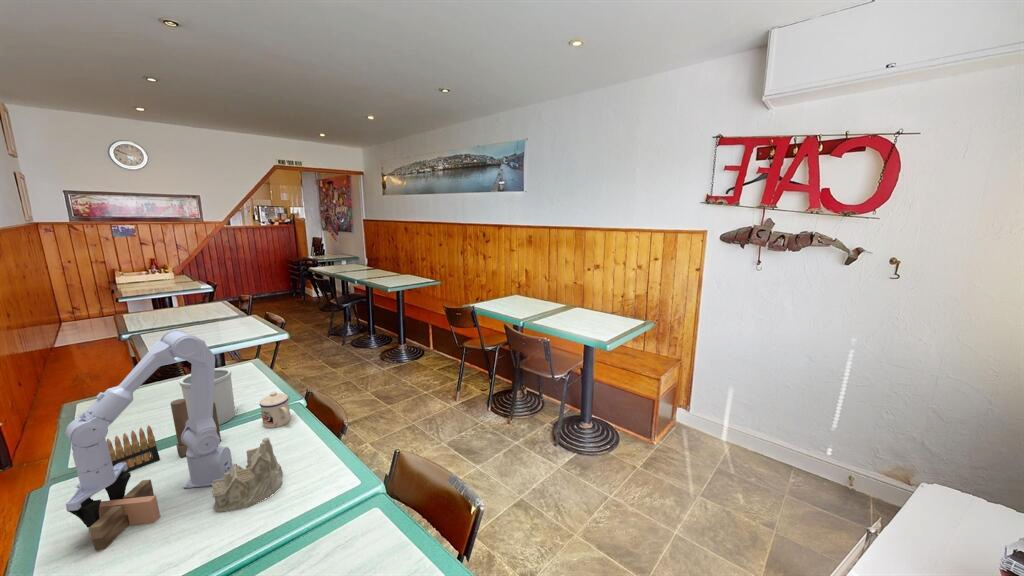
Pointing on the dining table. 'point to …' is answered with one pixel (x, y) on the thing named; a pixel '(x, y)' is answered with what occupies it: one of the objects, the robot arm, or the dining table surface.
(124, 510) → the cross plate
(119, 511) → the slotted base plate
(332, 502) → the dining table surface
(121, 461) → the ammunition clip
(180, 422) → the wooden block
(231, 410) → the utensil holder
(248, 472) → the ceramic cottage
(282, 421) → the teacup with lid
